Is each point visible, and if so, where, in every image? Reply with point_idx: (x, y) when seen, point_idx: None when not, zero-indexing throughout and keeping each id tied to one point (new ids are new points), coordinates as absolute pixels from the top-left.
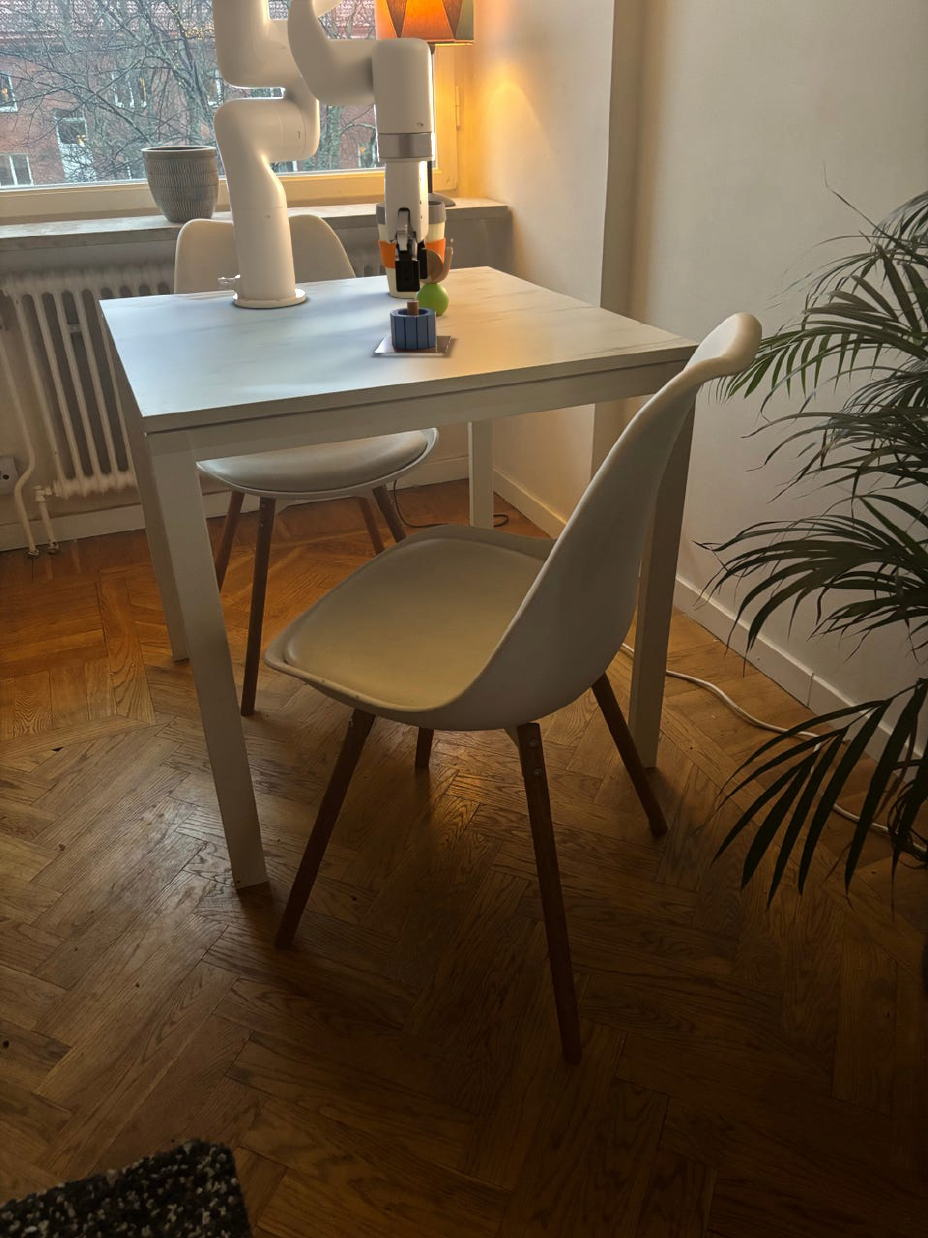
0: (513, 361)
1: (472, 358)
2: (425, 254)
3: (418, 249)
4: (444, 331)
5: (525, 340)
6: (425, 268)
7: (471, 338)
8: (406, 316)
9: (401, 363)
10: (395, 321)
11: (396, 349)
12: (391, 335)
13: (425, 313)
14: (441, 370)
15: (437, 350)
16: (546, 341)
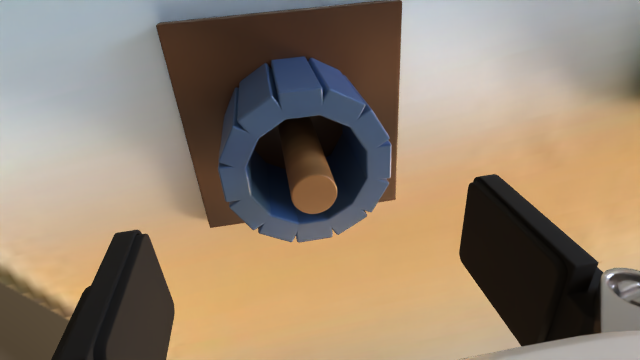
0: (207, 344)
1: (213, 275)
2: (518, 341)
3: (550, 335)
4: (486, 154)
5: (383, 325)
6: (478, 285)
7: (405, 231)
8: (225, 172)
9: (108, 129)
10: (232, 118)
11: (217, 89)
12: (273, 68)
13: (349, 194)
14: (77, 242)
15: (228, 205)
16: (375, 355)
